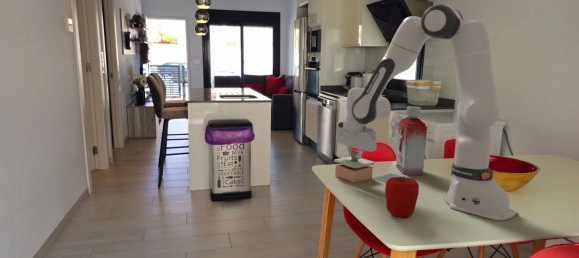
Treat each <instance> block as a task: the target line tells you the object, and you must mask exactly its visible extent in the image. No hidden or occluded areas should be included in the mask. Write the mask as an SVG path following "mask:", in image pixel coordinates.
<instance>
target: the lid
mask: <svg viewBox="0 0 579 258" xmlns="http://www.w3.org/2000/svg"><path fill="white" fill-rule="evenodd" d="M358 152H359V151H358V150H352V155H351V157H350V156H347V157H342V158H337V159H334V161H333V162H334V163H337V164H343V165H346V166H349V167H352V168H359V167H364V166H374V165H375V164H376V161H372V160H368V159H365V158H362V157H361V159H357V158H356V154H358Z"/></svg>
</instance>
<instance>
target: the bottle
mask: <svg viewBox="0 0 579 258" xmlns="http://www.w3.org/2000/svg"><path fill="white" fill-rule="evenodd" d="M421 110H422V107H420V106H414V105H413V106H411V105H410V106H407V107H406V115H407V117H405V118H401V119H400V121H399V122H398V129H397V130H398V132H397V142H396V143H397V144H396V157H395V158H396V159H395V163H396V165H395V167H397V169H398V170H399V171H400V172H401V173H402V174H403V176H423V175H424V173H423V171H424V167H425V156H426V155H425V154H426V143H427V131H428V126H427V125H426V124H425V122H423V120H421V118H419V117H420V113H421Z"/></svg>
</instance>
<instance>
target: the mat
mask: <svg viewBox="0 0 579 258" xmlns="http://www.w3.org/2000/svg"><path fill="white" fill-rule="evenodd" d="M393 177H403V175H402V176H401V175H399V174H398V175H397V174H395V173H392V172H390V173H389V174H384V175H379V176H376V177H372V179H373V180H376V181H379V182H381V183H384V184H386V182H387V181H388V180H389V179H390V178H393Z"/></svg>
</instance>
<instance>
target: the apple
mask: <svg viewBox="0 0 579 258" xmlns="http://www.w3.org/2000/svg"><path fill="white" fill-rule="evenodd" d="M419 189H420V184H419V183H418V181H417V180H416V179H414V178H413V177H412V178H411V177H407V176H405V175H402V177H393V178H390V179H389V180H388V181H387V182H386V183H385V188H384V191H385V202H386V210H387V212H389V213H390V214H391V216H393V217H394V218H398V219H408V218H410V217H411V216H412V215H413V214H414V213H415V211H416V207H417V201H418V197H419V192H420V190H419Z"/></svg>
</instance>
